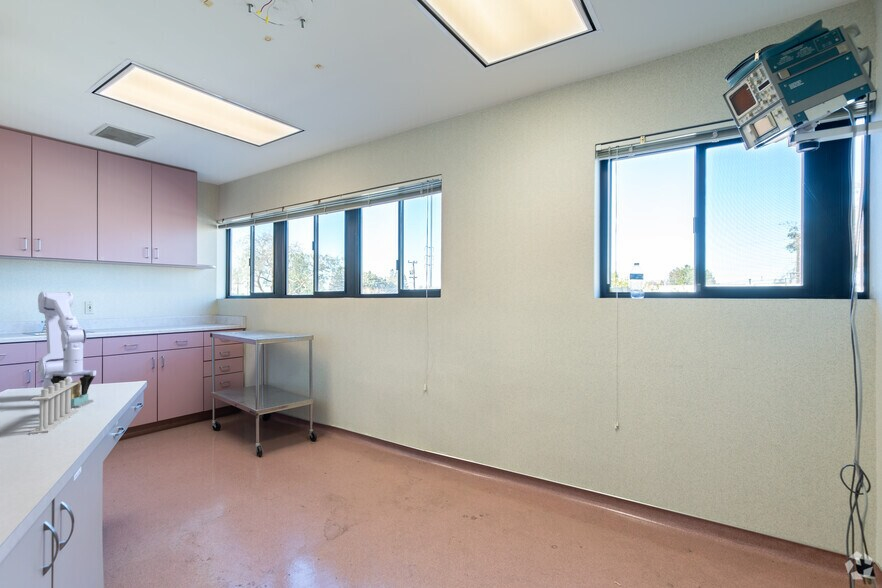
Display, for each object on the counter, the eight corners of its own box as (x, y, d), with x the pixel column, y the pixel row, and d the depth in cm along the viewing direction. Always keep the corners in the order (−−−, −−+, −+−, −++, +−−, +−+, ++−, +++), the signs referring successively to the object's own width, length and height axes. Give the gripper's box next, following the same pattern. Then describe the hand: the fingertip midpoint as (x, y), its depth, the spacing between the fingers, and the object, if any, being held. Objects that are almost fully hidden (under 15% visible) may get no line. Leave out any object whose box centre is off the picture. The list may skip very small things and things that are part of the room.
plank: (73, 401, 160) (74, 381, 160) (80, 401, 160) (80, 381, 160) (65, 404, 155) (65, 384, 155) (72, 404, 156) (72, 383, 156)
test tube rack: (48, 433, 127) (48, 390, 127) (29, 435, 125) (30, 392, 125) (78, 412, 149) (79, 376, 149) (62, 413, 148) (63, 377, 148)
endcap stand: (66, 402, 161) (66, 394, 161) (93, 401, 163) (93, 393, 163) (50, 409, 152) (50, 400, 152) (78, 407, 154) (78, 399, 154)
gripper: (43, 362, 152) (43, 398, 152) (88, 361, 155) (88, 396, 155) (56, 359, 159) (56, 393, 159) (99, 358, 162) (99, 392, 162)
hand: (72, 394), depth 158 cm, fingers open, 7 cm apart
